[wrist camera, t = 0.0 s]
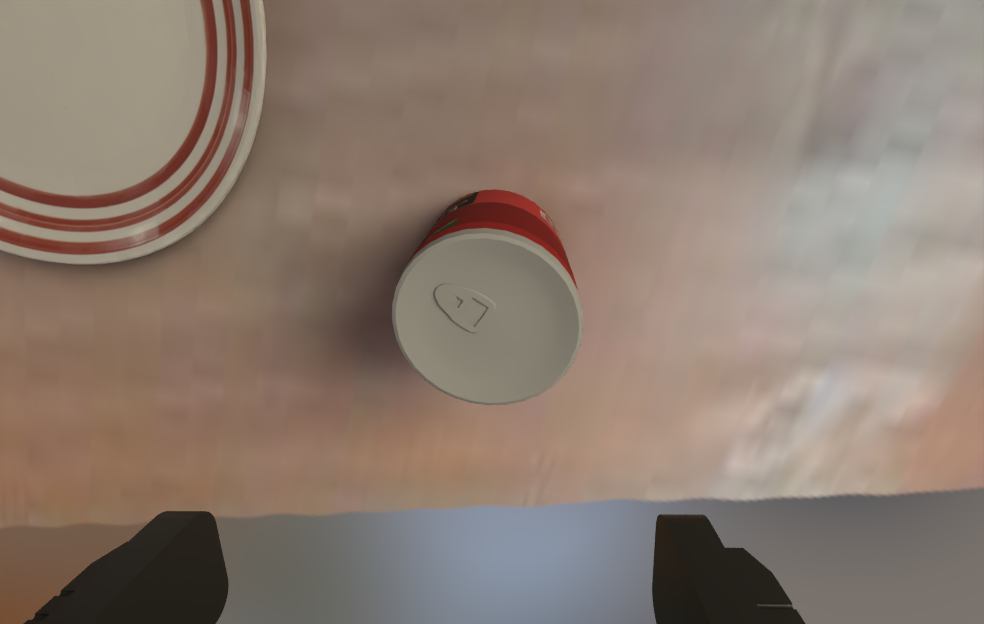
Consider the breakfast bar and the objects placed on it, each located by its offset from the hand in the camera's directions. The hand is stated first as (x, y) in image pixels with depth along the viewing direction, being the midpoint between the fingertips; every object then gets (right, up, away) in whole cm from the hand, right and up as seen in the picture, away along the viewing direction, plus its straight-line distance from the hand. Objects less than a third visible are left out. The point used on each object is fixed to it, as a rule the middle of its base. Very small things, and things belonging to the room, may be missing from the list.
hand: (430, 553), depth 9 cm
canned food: (+1, +8, +21) cm, 23 cm away
